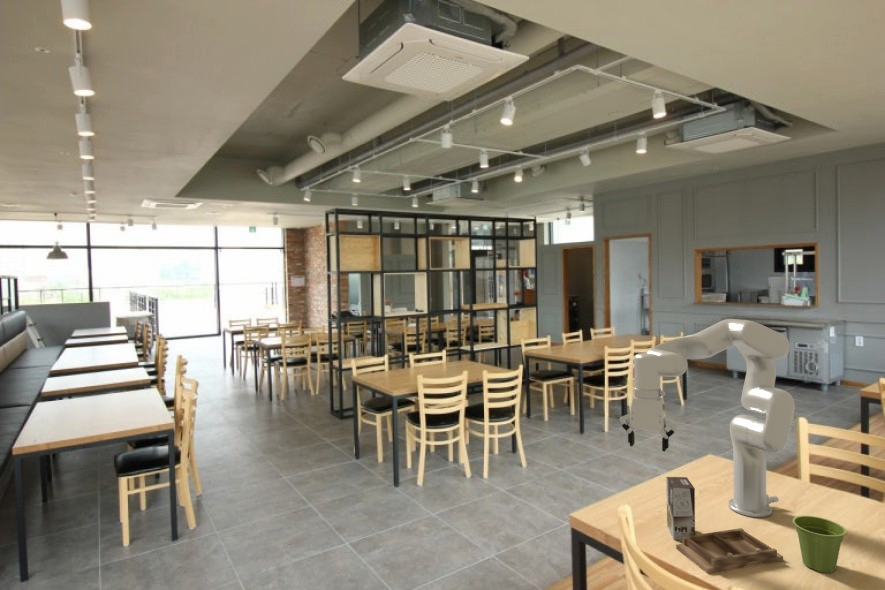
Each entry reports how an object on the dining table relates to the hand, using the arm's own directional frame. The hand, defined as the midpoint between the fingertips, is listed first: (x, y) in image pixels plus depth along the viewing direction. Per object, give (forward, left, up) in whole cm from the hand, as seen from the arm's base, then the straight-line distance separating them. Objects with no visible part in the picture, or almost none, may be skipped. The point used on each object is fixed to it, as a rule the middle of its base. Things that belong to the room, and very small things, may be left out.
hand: (648, 447), depth 164 cm
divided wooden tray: (-13, +19, -26) cm, 34 cm away
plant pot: (-32, +30, -26) cm, 51 cm away
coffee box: (-8, +5, -26) cm, 28 cm away
